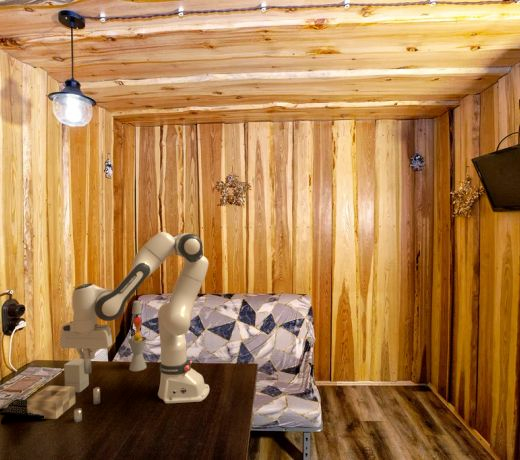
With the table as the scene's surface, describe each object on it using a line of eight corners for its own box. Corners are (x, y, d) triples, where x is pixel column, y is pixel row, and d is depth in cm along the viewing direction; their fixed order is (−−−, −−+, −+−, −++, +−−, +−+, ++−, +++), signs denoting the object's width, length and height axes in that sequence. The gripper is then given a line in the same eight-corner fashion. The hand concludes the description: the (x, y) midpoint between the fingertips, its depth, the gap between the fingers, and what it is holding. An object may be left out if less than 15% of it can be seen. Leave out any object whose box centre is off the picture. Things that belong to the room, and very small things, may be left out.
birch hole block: (75, 402, 149) (74, 386, 148) (56, 419, 137) (55, 401, 136) (48, 401, 150) (48, 385, 149) (27, 417, 138) (27, 400, 138)
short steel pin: (83, 418, 137) (83, 408, 137) (79, 422, 134) (79, 412, 134) (77, 418, 137) (76, 408, 137) (72, 422, 135) (72, 411, 134)
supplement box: (89, 385, 164) (88, 358, 164) (79, 392, 157) (79, 365, 157) (74, 384, 165) (73, 357, 165) (64, 392, 158) (63, 364, 157)
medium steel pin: (101, 401, 150) (101, 387, 150) (98, 404, 147) (97, 390, 147) (95, 400, 150) (95, 387, 150) (92, 404, 148) (91, 390, 147)
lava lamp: (128, 365, 186) (127, 300, 185) (146, 363, 189) (145, 298, 188) (128, 372, 177) (127, 303, 176) (147, 369, 181) (146, 302, 180)
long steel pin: (92, 371, 143) (91, 342, 142) (89, 374, 140) (87, 344, 140) (86, 371, 143) (85, 342, 143) (82, 374, 141) (81, 344, 140)
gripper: (114, 322, 143) (115, 355, 144) (67, 322, 145) (68, 355, 146) (106, 327, 137) (107, 362, 137) (56, 327, 139) (58, 361, 139)
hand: (87, 358), depth 142 cm, fingers closed on long steel pin, 3 cm apart
